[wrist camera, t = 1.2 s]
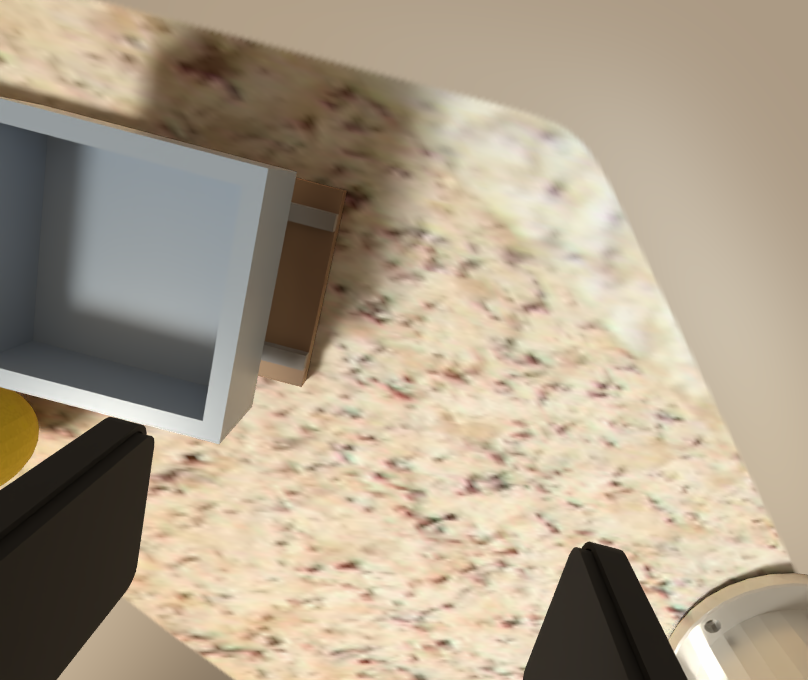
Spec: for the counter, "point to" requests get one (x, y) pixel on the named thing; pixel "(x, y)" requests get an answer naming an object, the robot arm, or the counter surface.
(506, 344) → the counter surface
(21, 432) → the lemon
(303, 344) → the track
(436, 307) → the counter surface
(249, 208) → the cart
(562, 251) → the counter surface
